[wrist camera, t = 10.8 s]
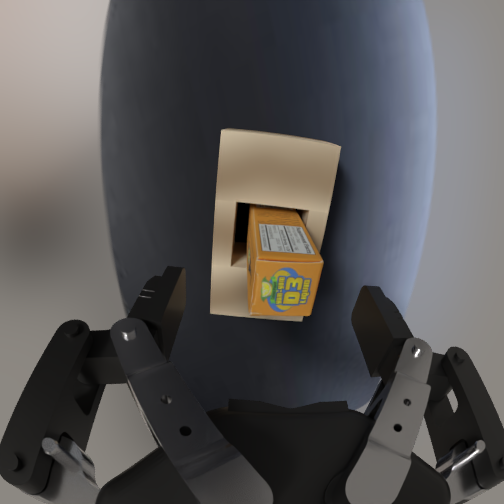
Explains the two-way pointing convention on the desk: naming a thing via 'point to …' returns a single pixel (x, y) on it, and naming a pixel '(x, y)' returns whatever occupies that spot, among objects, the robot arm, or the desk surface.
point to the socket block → (265, 201)
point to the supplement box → (280, 263)
